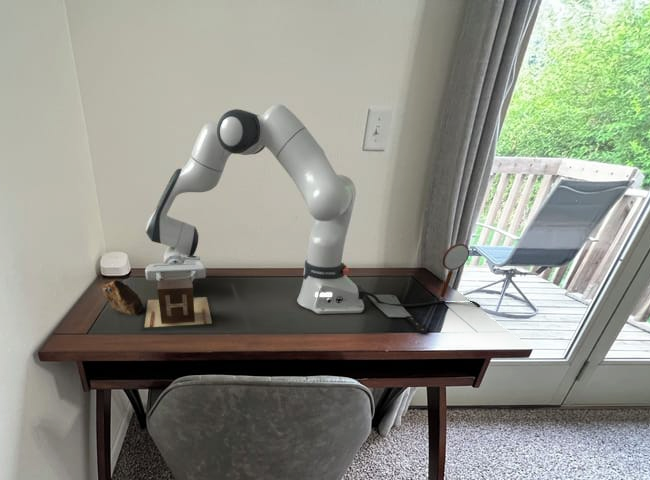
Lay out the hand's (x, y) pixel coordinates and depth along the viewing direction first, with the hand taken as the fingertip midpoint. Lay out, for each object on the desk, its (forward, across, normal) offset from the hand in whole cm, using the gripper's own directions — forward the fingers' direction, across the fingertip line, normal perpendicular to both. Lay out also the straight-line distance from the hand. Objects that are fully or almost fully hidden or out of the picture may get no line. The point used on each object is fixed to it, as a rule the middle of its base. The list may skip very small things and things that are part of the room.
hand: (176, 279), depth 114 cm
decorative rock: (+3, -17, +9) cm, 20 cm away
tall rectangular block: (+11, 0, +8) cm, 14 cm away
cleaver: (+15, +71, +9) cm, 73 cm away
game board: (+6, 0, +9) cm, 11 cm away
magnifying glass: (+8, +92, +10) cm, 93 cm away
